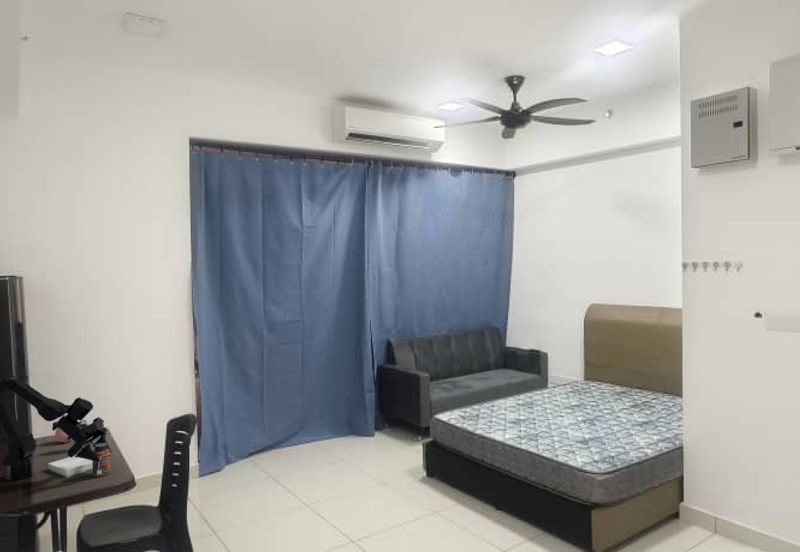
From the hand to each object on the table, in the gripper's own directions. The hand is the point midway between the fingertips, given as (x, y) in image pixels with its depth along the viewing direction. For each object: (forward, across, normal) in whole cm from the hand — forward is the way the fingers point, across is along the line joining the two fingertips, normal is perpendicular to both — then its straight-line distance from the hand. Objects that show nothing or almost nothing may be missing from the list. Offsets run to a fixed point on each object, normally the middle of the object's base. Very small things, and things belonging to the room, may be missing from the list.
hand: (104, 456), depth 204 cm
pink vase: (-22, +41, +32) cm, 57 cm away
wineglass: (-13, +30, +23) cm, 40 cm away
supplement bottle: (+4, 0, +6) cm, 7 cm away
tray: (-6, +9, +15) cm, 18 cm away
